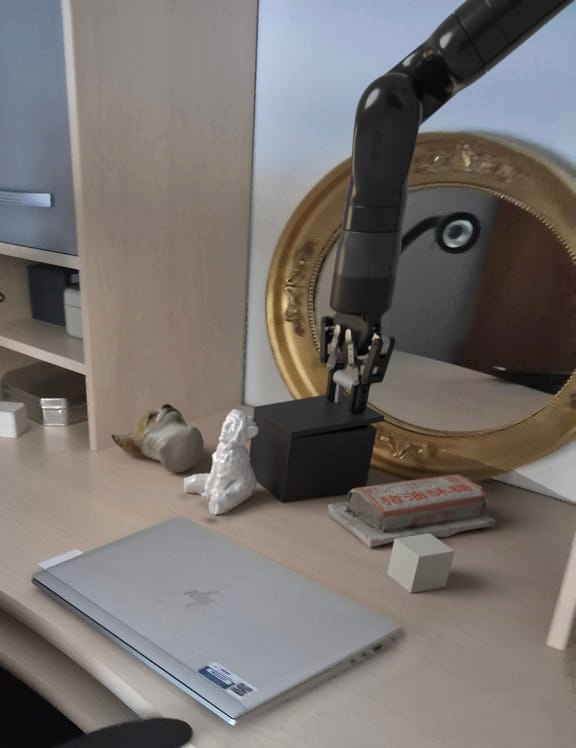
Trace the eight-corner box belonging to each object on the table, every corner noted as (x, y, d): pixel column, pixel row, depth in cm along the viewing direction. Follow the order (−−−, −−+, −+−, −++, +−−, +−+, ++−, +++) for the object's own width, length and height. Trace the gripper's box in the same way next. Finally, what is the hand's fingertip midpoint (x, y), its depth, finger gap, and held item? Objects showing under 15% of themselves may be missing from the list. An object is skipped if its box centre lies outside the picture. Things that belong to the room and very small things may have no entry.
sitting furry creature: (179, 489, 114) (184, 403, 108) (233, 480, 117) (241, 394, 111) (213, 517, 107) (221, 425, 100) (270, 506, 110) (282, 416, 103)
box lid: (340, 397, 117) (344, 361, 114) (383, 421, 109) (389, 383, 106) (253, 412, 114) (255, 375, 111) (291, 438, 106) (294, 399, 103)
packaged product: (451, 464, 109) (504, 493, 101) (443, 498, 112) (494, 529, 104) (330, 480, 105) (376, 513, 97) (324, 515, 107) (368, 550, 99)
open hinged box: (325, 463, 122) (334, 403, 117) (365, 491, 114) (377, 428, 109) (247, 473, 119) (253, 412, 114) (282, 502, 111) (290, 438, 106)
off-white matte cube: (420, 568, 96) (429, 532, 93) (445, 587, 92) (455, 550, 90) (386, 574, 95) (394, 538, 92) (410, 593, 91) (419, 556, 89)
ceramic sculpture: (160, 421, 111) (106, 397, 123) (159, 483, 115) (107, 455, 127) (226, 410, 115) (168, 387, 127) (222, 470, 120) (167, 444, 131)
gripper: (427, 277, 98) (400, 419, 107) (360, 257, 109) (340, 387, 119) (371, 282, 96) (348, 426, 105) (309, 261, 107) (293, 393, 117)
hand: (344, 405), depth 112 cm, fingers closed on box lid, 5 cm apart
